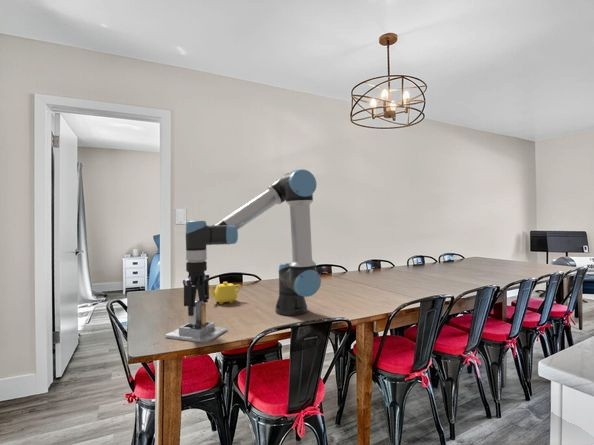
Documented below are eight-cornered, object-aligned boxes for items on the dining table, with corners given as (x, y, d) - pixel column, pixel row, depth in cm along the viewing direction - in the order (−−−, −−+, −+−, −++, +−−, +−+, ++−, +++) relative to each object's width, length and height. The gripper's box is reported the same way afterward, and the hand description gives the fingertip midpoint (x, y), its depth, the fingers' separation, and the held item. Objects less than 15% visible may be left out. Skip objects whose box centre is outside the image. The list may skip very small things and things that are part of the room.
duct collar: (227, 330, 130) (227, 321, 130) (206, 343, 117) (206, 333, 117) (189, 326, 136) (188, 317, 136) (165, 337, 123) (165, 328, 123)
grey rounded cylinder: (195, 324, 130) (195, 299, 130) (208, 326, 128) (208, 300, 128) (187, 328, 125) (186, 302, 125) (200, 330, 123) (200, 303, 123)
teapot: (207, 306, 167) (207, 285, 167) (206, 301, 177) (205, 281, 177) (243, 303, 173) (242, 282, 173) (239, 298, 183) (239, 279, 183)
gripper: (202, 258, 136) (202, 314, 136) (172, 263, 119) (173, 328, 119) (218, 258, 134) (218, 315, 134) (189, 264, 116) (190, 330, 117)
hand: (197, 321), depth 126 cm, fingers closed on grey rounded cylinder, 5 cm apart
